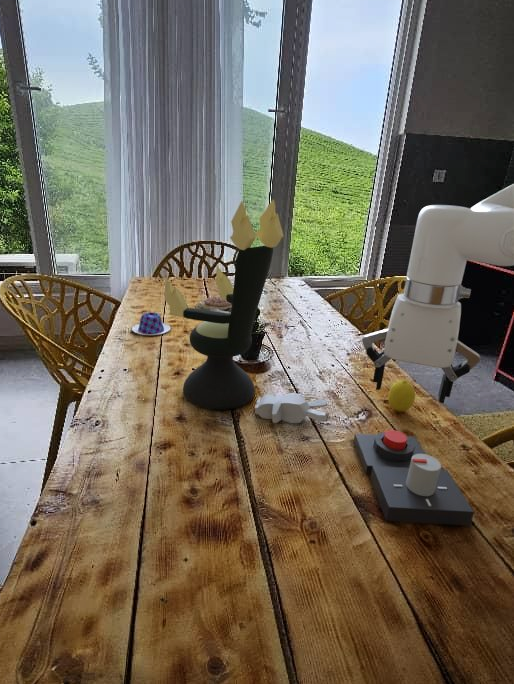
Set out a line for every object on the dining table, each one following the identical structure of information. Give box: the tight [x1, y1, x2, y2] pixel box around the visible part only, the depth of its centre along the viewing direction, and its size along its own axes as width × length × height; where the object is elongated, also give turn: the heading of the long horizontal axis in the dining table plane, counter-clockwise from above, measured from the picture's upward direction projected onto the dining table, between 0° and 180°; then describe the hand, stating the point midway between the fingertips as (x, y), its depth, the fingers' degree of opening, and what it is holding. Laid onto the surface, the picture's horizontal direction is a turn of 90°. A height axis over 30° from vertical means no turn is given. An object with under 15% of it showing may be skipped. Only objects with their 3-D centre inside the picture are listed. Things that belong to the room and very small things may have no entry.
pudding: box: [131, 311, 171, 336], centre depth 140 cm, size 12×12×5 cm
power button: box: [383, 429, 407, 450], centre depth 82 cm, size 4×4×2 cm
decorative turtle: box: [194, 295, 232, 314], centre depth 162 cm, size 18×17×5 cm
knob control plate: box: [369, 466, 475, 527], centre depth 73 cm, size 13×10×3 cm
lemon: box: [387, 379, 416, 413], centre depth 99 cm, size 6×6×8 cm
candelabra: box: [164, 199, 285, 411], centre depth 95 cm, size 19×22×45 cm
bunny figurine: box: [254, 392, 328, 424], centre depth 95 cm, size 10×5×15 cm
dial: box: [406, 453, 442, 496], centre depth 71 cm, size 4×4×5 cm
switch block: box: [353, 431, 427, 476], centre depth 83 cm, size 12×10×4 cm
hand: (409, 392), depth 73 cm, fingers open, 9 cm apart
